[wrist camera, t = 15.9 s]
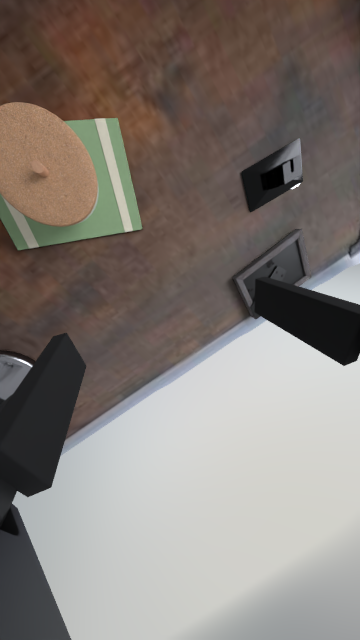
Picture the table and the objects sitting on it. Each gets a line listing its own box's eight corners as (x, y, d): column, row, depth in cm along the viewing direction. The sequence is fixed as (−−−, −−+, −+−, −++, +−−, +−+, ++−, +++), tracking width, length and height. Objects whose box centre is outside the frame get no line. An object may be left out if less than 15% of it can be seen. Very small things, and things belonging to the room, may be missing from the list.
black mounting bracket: (297, 138, 32) (322, 125, 28) (301, 183, 36) (323, 177, 32) (241, 171, 32) (258, 162, 28) (250, 213, 36) (266, 211, 32)
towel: (19, 250, 28) (17, 250, 28) (-47, 130, 21) (-52, 127, 21) (142, 229, 32) (142, 229, 31) (117, 120, 25) (117, 117, 24)
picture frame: (251, 316, 47) (306, 275, 47) (256, 319, 46) (313, 277, 45) (232, 277, 41) (295, 229, 40) (236, 279, 39) (303, 228, 38)
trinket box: (62, 241, 29) (37, 243, 21) (-2, 163, 23) (-69, 125, 15) (118, 207, 29) (115, 196, 21) (67, 122, 23) (37, 62, 15)
